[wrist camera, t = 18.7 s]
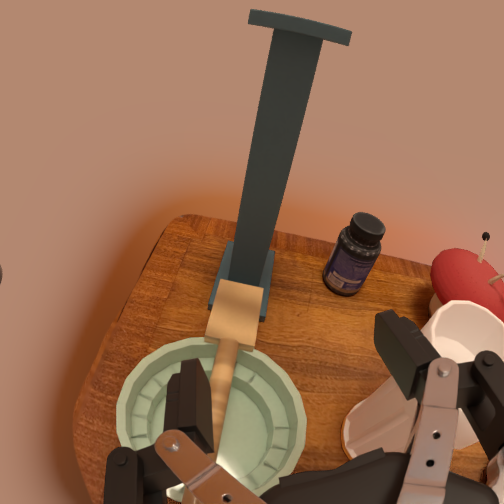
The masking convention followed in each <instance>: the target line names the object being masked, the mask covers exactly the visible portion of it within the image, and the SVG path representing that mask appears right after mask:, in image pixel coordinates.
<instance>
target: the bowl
mask: <svg viewBox="0 0 504 504" xmlns="http://www.w3.org/2000/svg"><path fill="white" fill-rule="evenodd" d="M217 348H218V345H216V344H212V343H208V342H204V337H195V338H187V339H184V340H180V341H177V342H173V343H170V344H166V345H164V346H162V347H161V348H159V349H157V350H156V351H154V352H153V353H151V354H149V355H148V356H146V357H145V358H143V359H142V360H141V361H140V362H139V364H138V365H137V366H136V367H135V368H134V370H133V371H132V372H131V373H130V374H129V376H128V377H127V378H126V380H125V382H124V385H123V388H122V390H121V393H120V396H119V398H118V401H117V404H116V431H117V435H118V438H119V440H120V443H121V446H126V447H129V448H131V449H133V450H134V451H136V450H139V449H142V448H145V447H148V446H150V445H152V444H154V443H155V441H156V439H157V438H158V436H159V435H160V434H162V433H163V427H164V415H165V403H166V395H167V393H166V392H167V383H168V381H169V379H170V378H171V376H172V374H175V373H180V368H181V361H183V360H189V359H194V358H199V360H200V362H201V364H202V367H203V369H204V371H205V373H206V375H207V378H208V380H209V381H210V377H211V373H212V368H213V364H214V360H215V356H216V352H217ZM306 426H307V418H306V414H305V410H304V406H303V403H302V399H301V395H300V393H299V392H298V390H297V389H296V387H295V385H294V384H293V382H292V381H291V379H290V377H289V376H288V374H287V373H286V372H285V371H284V370H283V369H282V368H281V367H279V366H278V365H277V364H276V363H275V362H274V361H273V360H272V359H270V358H269V357H268V356H266V355H265V354H263V353H261V352H259V351H257V350H255V349H253V352H249V351H244V350H239V349H238V354H237V359H236V364H235V369H234V374H233V379H232V384H231V389H230V394H229V399H228V405H227V410H226V415H225V420H224V425H223V430H222V435H221V440H220V445H219V450H218V455H217V460H216V464H219V465H220V466H222V467H223V468H224V469H225V470H226V471H227V472H229V473H230V474H231V475H232V476H233V477H234V478H236V479H237V480H238V481H239V482H240V483H242V484H243V485H244V486H245V487H247V488H248V489H249V490H250V491H252V492H253V493H254V494H255V495H257V496H258V497H259V496H260V495H262V494H263V493H264V492H265V491H266V490H268V489H269V488H271V487H273V486H274V485H277V484H279V478H278V477H283V476H288V475H290V474H291V473H292V471H293V470H294V468H295V466H296V464H297V462H298V460H299V458H300V455H301V453H302V451H303V449H304V446H305V438H306ZM184 489H185V485H184V484H183V483H182V484H180V485H177V486H174V487H171V488H168V489H166V491H167V496H168V497H170V498H171V499H173V500H175V501H178V502H182V498H183V493H184Z"/></svg>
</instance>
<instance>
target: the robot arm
mask: <svg viewBox="0 0 504 504" xmlns="http://www.w3.org/2000/svg"><path fill="white" fill-rule="evenodd" d="M374 344H375V347H376V350H377V352H378V353H379V355H380V356H381V358H382V360H383V361H384V363H385V365H386V366H387V368H388V370H389V371H390V373H391V374H392V376H393V378H394V379H395V381H396V383H397V384H398V386H399V388H400V390H401V391H402V393H403V395H404V396H405V398H406V400H407V401H408V400H411V399H413V398H416V400H417V405H416V410H415V414H414V418H413V423H412V427H411V430H410V434H409V438H408V441H407V444H406V447H405V449H404V452H403V453H401V452H384V451H383V448H382V447H380V448H378V449H375V450H372V451H370V452H367V453H364V454H361V455H359V456H357V457H355V458H353V459H352V460H350V461H348V462H347V463H345V464H343V465H341V466H340V467H338V468H336V469H334V470H326V471H305V472H301V473H297V474H292V475H288V476H283V477H278V478H279V484H277V485H274V486H273V487H271V488H269V489H268V490H266V491H265V492H264V493H263V494H262V495H260V496H259V497H258V496H257V495H255V494H254V493H253V492H252V491H250V490H249V489H248V488H247V487H245V486H244V485H243V484H242V483H240V482H239V481H238V480H237V479H236V478H234V477H233V476H232V475H231V474H230V473H229V472H227V471H226V470H225V469H224V468H223V467H222V466H220V465H219V464H216V463H215V462H214V461H213V460H212V459H211V458H209V457H208V456H207V454H208V453H214V438H213V419H212V397H211V387H210V383H209V380H208V378H207V375H206V373H205V371H204V369H203V367H202V364H201V362H200V360H199V358H194V359H189V360H183V361H181V368H180V373H175V374H172V376H171V378H170V379H169V381H168V383H167V392H166V393H167V395H166V403H165V415H164V427H163V433H162V434H160V435H159V436H158V438H157V439H156V441H155V443H154V444H152V445H150V446H148V447H145V448H142V449H139V450H136V451H134V450H133V449H131V448H129V447H126V446H122V447H118V448H116V449H114V450H113V451H112V452H111V453H110V454H109V456H108V458H107V464H106V475H105V487H104V503H103V504H167V491H166V489H168V488H171V487H174V486H177V485H180V484H182V483H183V484H184V485H185V486H186V487H187V489H188V490H189V491H190V492H191V493H192V494H193V495H194V496H195V497H196V498H197V499H198V500H199V501H200V502H201V503H202V504H504V362H503V361H502V359H501V358H500V357H499V356H498V355H497V354H496V353H495V352H493V351H489V350H484V351H481V352H479V353H478V354H477V355H476V357H475V359H474V361H470V362H464V363H456V362H455V361H453V360H452V359H450V358H446V357H441V356H440V354H439V353H438V352H437V351H436V349H435V348H434V347H433V345H432V344H431V343H430V342H429V340H428V339H427V338H426V337H425V336H424V334H423V333H422V332H421V331H420V330H419V328H418V327H417V326H416V325H415V323H414V322H413V321H411V320H409V319H408V318H406V317H404V316H403V317H401V318H399V317H398V316H397V314H396V313H395V312H394V311H393V310H392V309H390V310H387V311H384V312H381V313H378V314H376V316H375V328H374ZM458 408H461V409H462V411H463V413H464V415H465V416H466V418H467V420H468V422H469V423H470V425H471V427H472V429H473V431H474V432H475V434H476V436H477V438H478V440H479V442H480V444H481V445H482V447H483V449H484V451H485V453H486V455H487V457H488V459H489V461H490V462H489V464H488V466H487V480H488V486H487V485H486V484H483V483H480V482H477V481H474V480H472V479H469V478H466V477H463V476H461V475H458V474H455V473H453V472H450V471H449V468H450V463H451V459H452V454H453V448H454V443H455V437H456V430H457V423H458V415H459V410H458Z"/></svg>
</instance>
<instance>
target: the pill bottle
mask: <svg viewBox="0 0 504 504" xmlns="http://www.w3.org/2000/svg"><path fill="white" fill-rule="evenodd" d="M384 233H385V226H384V224H383V223H382V222H381V221H380V220H379V219H378V218H376V217H375V216H373V215H371V214H368V213H363V212H358V213H355V214H354V215H353V217H352V219H351V222H350V226H347V227H345V228H344V229H343V230H342V231H341V232H340V234H339V237H338V239H337V241H336V244H335V246H334V248H333V251H332V253H331V255H330V258H329V260H328V262H327V264H326V267H325V269H324V271H323V278H324V281H325V283H326V285H327V286H328V287H329V288H330V289H331V290H332V291H334V292H336V293H338V294H340V295H344V296H350V295H353V294H356V293H357V292H358V290H359V289H360V288H361V286H362V284H363V283H364V281H365V279H366V277H367V276H368V274H369V272H370V270H371V269H372V267H373V265H374V263H375V261H376V260H377V258H378V256H379V254H380V251H381V243H380V240H381V239H382V237H383V235H384Z"/></svg>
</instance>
